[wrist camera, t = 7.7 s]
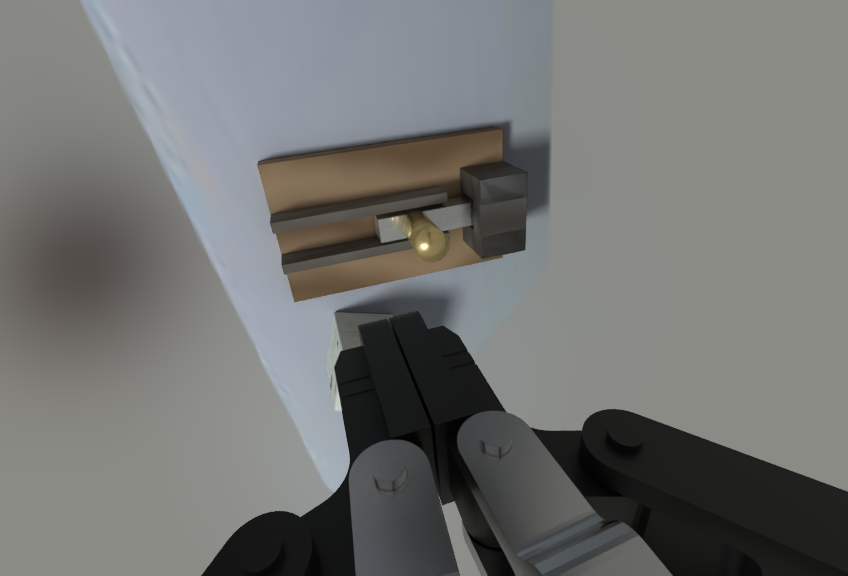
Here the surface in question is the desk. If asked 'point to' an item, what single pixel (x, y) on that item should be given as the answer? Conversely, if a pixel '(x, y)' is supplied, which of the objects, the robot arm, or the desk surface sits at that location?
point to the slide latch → (426, 226)
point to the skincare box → (345, 342)
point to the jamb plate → (390, 208)
